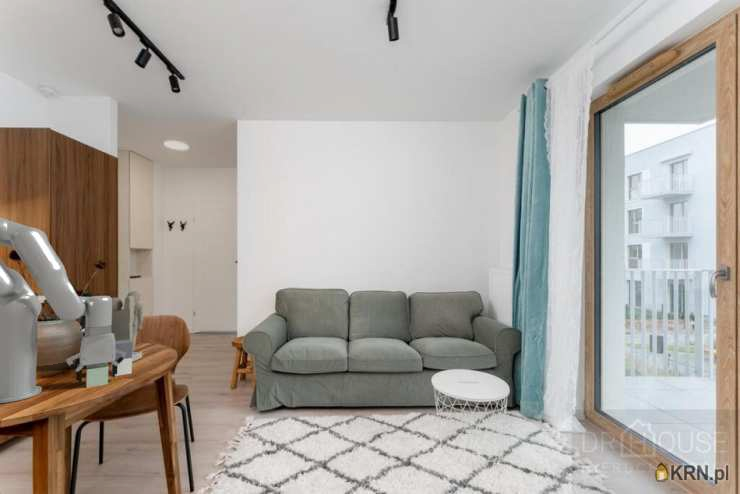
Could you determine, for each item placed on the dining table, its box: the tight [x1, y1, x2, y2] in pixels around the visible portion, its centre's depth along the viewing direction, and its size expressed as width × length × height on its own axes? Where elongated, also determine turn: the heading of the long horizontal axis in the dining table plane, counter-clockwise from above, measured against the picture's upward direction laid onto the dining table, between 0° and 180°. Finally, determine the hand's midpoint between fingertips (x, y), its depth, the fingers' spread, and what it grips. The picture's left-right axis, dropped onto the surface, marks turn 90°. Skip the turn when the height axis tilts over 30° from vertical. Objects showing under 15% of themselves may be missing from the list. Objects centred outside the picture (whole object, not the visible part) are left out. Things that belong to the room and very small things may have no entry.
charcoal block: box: [115, 339, 133, 360], centre depth 142 cm, size 6×6×6 cm
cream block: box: [111, 358, 133, 377], centre depth 142 cm, size 6×6×6 cm
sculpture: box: [111, 290, 144, 363], centre depth 159 cm, size 15×8×30 cm, turn 84°
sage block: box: [85, 363, 109, 388], centre depth 130 cm, size 6×6×6 cm
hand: (97, 379), depth 130 cm, fingers open, 9 cm apart
